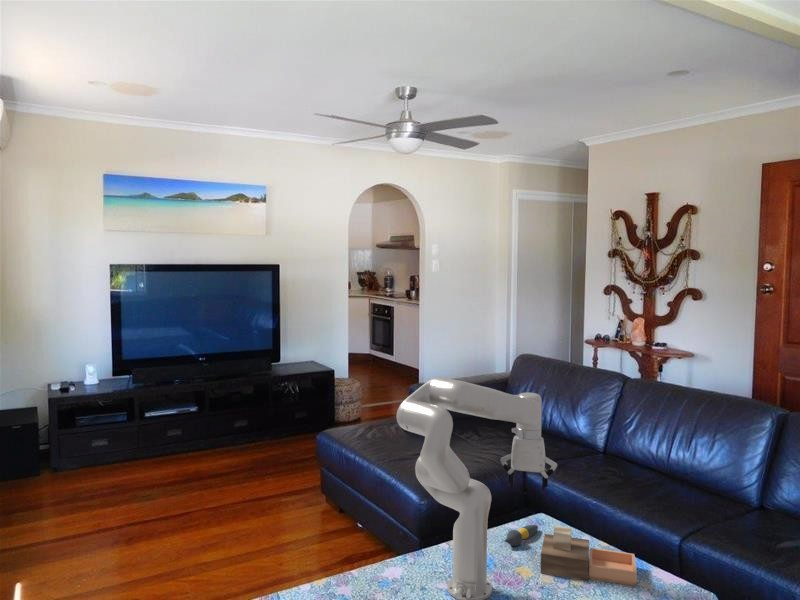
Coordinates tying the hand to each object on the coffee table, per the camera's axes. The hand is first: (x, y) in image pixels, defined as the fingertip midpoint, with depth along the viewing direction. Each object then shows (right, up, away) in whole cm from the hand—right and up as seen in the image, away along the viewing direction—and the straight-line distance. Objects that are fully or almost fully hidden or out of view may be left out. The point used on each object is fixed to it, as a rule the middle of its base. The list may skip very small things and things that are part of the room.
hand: (528, 487), depth 187 cm
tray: (+24, -23, -7) cm, 34 cm away
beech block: (+10, -15, -3) cm, 18 cm away
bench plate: (+11, -23, -3) cm, 26 cm away
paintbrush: (+1, -23, +15) cm, 27 cm away
